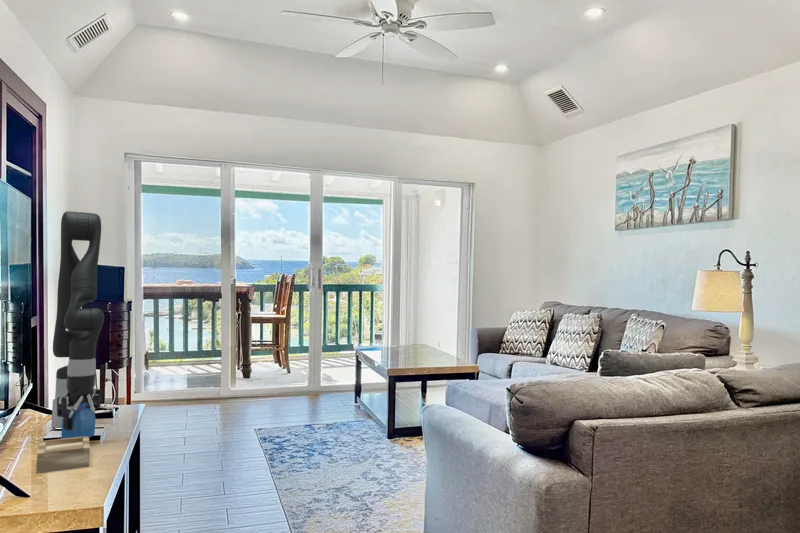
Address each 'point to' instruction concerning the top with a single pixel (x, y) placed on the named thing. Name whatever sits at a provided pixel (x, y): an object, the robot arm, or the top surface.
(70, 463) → the square tray
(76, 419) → the perfume bottle
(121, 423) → the top surface
